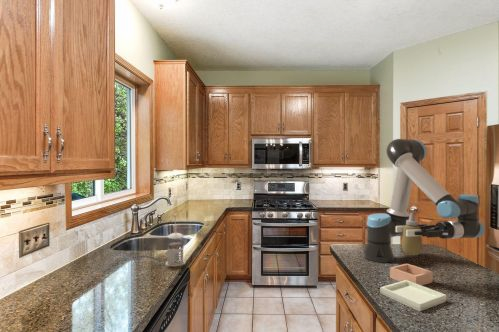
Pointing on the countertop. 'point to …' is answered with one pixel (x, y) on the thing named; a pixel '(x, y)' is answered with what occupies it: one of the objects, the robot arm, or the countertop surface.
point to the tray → (413, 295)
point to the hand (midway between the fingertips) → (401, 231)
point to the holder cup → (411, 274)
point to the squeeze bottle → (411, 237)
